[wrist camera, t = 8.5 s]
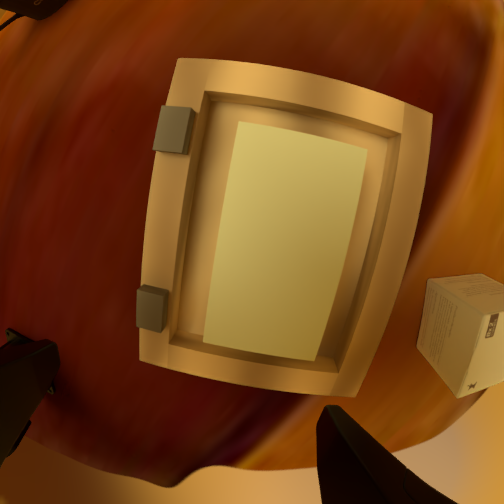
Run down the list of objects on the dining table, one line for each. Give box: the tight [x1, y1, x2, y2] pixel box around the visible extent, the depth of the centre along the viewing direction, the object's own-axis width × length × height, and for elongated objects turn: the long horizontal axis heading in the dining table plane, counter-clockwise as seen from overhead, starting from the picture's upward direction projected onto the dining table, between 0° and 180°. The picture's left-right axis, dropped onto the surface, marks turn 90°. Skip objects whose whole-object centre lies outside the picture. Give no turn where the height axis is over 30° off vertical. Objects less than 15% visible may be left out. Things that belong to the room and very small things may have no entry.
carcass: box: [136, 58, 433, 397], centre depth 16 cm, size 15×19×4 cm
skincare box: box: [416, 273, 504, 398], centre depth 15 cm, size 6×6×7 cm
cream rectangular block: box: [203, 121, 368, 361], centre depth 15 cm, size 6×11×4 cm, turn 170°
